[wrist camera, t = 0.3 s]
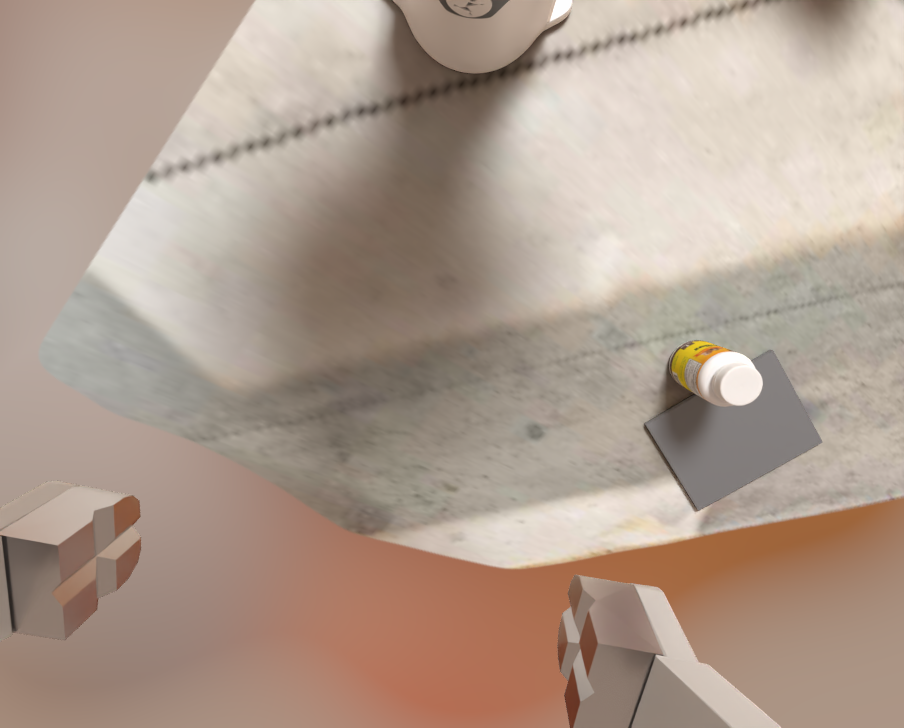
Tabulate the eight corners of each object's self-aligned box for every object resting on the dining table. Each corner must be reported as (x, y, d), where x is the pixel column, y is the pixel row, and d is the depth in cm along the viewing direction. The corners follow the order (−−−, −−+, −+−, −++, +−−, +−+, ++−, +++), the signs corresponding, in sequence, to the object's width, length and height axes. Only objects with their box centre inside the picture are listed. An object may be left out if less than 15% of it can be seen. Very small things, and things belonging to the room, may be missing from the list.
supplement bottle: (722, 343, 55) (780, 362, 45) (708, 389, 56) (762, 419, 46) (673, 334, 55) (721, 352, 45) (661, 381, 56) (704, 409, 46)
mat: (644, 423, 57) (646, 425, 56) (769, 349, 55) (773, 350, 54) (696, 508, 59) (698, 510, 58) (818, 440, 57) (822, 442, 56)
